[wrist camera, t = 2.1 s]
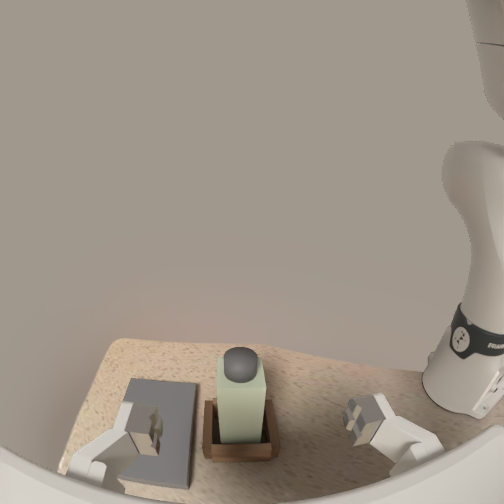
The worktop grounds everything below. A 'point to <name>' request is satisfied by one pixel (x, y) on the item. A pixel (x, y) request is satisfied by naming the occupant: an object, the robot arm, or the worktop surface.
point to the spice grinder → (240, 396)
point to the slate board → (165, 433)
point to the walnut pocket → (240, 450)
